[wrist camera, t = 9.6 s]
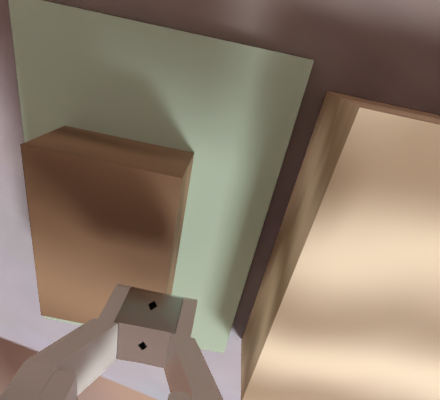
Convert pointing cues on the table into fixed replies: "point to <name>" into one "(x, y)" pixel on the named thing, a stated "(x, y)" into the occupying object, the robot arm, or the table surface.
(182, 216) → the walnut tile
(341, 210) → the beech block
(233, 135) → the sage green mat
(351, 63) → the table surface
